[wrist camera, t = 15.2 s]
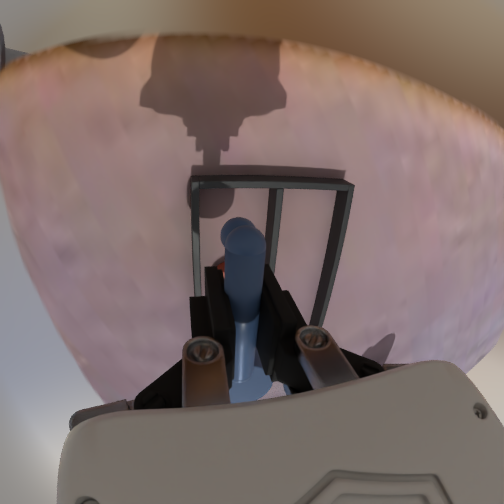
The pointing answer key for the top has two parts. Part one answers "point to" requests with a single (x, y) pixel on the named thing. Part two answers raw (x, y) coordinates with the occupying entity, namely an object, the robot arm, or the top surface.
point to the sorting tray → (273, 223)
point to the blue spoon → (245, 305)
